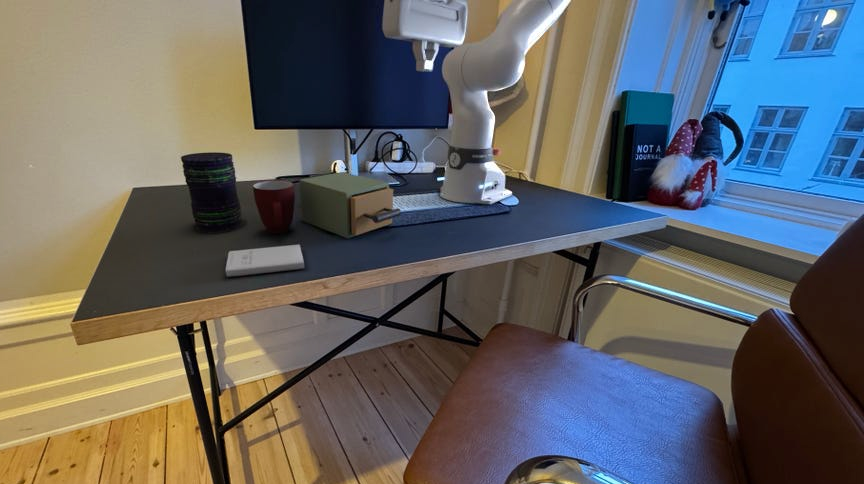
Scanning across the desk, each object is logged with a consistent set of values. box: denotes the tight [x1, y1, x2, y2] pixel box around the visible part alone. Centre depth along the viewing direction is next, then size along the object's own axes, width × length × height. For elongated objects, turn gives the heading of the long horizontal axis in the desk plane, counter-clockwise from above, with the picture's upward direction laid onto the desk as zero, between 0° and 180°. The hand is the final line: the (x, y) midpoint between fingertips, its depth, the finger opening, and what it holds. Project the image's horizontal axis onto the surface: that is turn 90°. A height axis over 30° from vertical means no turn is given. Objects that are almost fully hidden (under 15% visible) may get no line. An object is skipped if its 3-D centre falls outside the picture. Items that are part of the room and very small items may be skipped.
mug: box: [252, 180, 296, 235], centre depth 76 cm, size 11×8×10 cm
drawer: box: [349, 187, 402, 237], centre depth 80 cm, size 19×11×8 cm, turn 47°
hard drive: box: [225, 244, 305, 278], centre depth 64 cm, size 2×8×12 cm
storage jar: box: [180, 151, 244, 234], centre depth 78 cm, size 10×10×15 cm
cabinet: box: [298, 171, 390, 239], centre depth 83 cm, size 16×13×10 cm
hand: (424, 71), depth 69 cm, fingers closed
